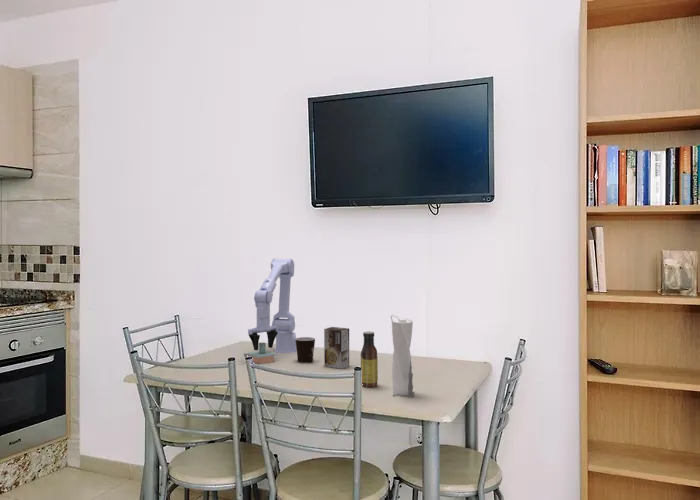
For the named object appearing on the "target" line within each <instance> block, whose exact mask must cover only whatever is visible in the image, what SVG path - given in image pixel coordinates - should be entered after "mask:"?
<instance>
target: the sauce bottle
mask: <svg viewBox="0 0 700 500" xmlns="http://www.w3.org/2000/svg"><path fill="white" fill-rule="evenodd" d="M362 336H363V345H362V348H361V351H360V369H361V368H362V384H363V387H365V388H366V387H367V388H374V387H377V385H378V380H379V375H378V373H379V371H378V366H379V364H378V361H379V360H378V349H377V347H376V346H375V339H374V338H375V332H374V331H370V330H369V331H364V332H363V334H362ZM362 384H361V385H362Z"/></svg>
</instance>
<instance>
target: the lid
mask: <svg viewBox="0 0 700 500" xmlns="http://www.w3.org/2000/svg"><path fill="white" fill-rule="evenodd" d="M266 345H267V344H266V342H259V343H258V350H257V351H251V352H250V351H249V352H248V354H249V355H251V356H254V357H257V358H261V357H268V356H274V357H276V356H277V353H276V352H272V351H271V350H270V351H269V350H268V349H267V347H266ZM266 349H267V350H266Z"/></svg>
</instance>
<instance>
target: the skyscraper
mask: <svg viewBox="0 0 700 500" xmlns="http://www.w3.org/2000/svg"><path fill="white" fill-rule="evenodd" d="M393 317H395V318H397V320H394V321H393ZM390 319H391V331H392V332H391V335H392V345H393V353H392V364H391V365H392V367H391V368H392V370H391V372H392V373H391V374H392V376H391V377H392V379H391V380H392V393H393V394H392V397H396V396H400V397H401V398H414V395H415V391H414V385H413V376H414V373H412V369H413V367H412V355H411V350H410V348H411V343H412V335H413V320H412V319H409V318H400V317H399V316H397V315H394V314H391V315H390Z"/></svg>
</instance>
